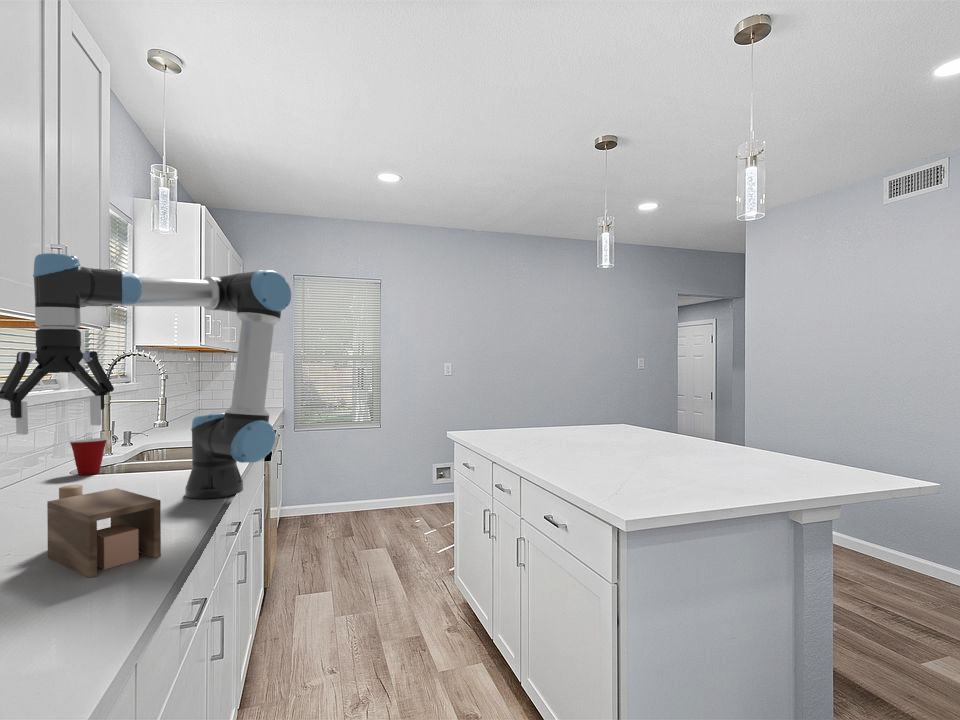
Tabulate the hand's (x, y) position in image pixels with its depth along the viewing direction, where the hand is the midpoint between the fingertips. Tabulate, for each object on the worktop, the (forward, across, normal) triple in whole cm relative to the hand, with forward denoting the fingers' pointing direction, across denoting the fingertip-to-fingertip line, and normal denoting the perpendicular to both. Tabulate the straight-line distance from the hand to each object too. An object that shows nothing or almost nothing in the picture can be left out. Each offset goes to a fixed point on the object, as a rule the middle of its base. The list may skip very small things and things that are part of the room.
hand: (61, 429), depth 113 cm
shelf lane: (+24, 0, +15) cm, 29 cm away
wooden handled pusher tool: (+24, 0, +10) cm, 27 cm away
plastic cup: (+25, -42, -70) cm, 85 cm away
